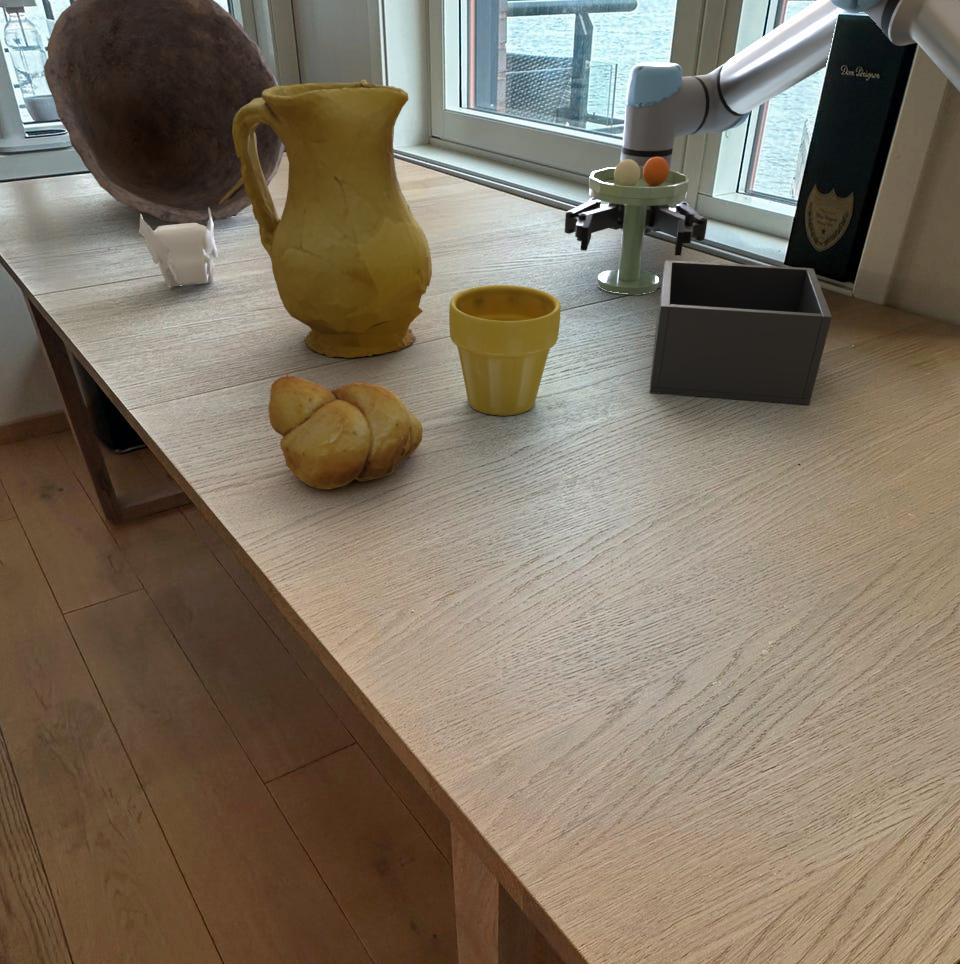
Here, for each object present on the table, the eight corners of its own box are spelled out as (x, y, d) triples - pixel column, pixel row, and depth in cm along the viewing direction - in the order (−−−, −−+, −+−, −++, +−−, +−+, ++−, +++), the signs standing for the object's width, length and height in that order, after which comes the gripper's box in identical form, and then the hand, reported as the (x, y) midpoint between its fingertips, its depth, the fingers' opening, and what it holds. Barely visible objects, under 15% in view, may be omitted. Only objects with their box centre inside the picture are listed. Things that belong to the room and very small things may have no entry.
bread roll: (406, 432, 80) (402, 346, 74) (448, 478, 73) (446, 387, 68) (270, 459, 75) (255, 370, 70) (300, 510, 68) (286, 416, 63)
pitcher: (352, 376, 88) (322, 90, 74) (247, 342, 99) (202, 84, 84) (466, 338, 99) (459, 79, 84) (360, 310, 109) (337, 76, 94)
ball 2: (664, 186, 108) (672, 158, 106) (664, 189, 106) (672, 160, 104) (640, 181, 108) (646, 153, 107) (639, 184, 106) (646, 155, 104)
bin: (794, 348, 96) (813, 268, 91) (809, 405, 84) (832, 316, 79) (654, 338, 99) (665, 259, 93) (649, 392, 87) (661, 306, 81)
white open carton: (159, 302, 108) (142, 226, 102) (148, 276, 116) (131, 204, 111) (235, 293, 111) (222, 219, 105) (219, 268, 119) (206, 198, 114)
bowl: (107, 6, 148) (119, -92, 122) (280, 151, 164) (325, 92, 138) (4, 172, 146) (-5, 108, 119) (190, 302, 162) (218, 272, 136)
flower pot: (576, 408, 84) (584, 306, 78) (489, 434, 79) (490, 328, 73) (514, 373, 90) (517, 277, 84) (430, 396, 86) (427, 296, 80)
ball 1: (636, 189, 107) (643, 161, 105) (636, 192, 104) (643, 163, 102) (611, 184, 107) (618, 155, 105) (610, 187, 104) (616, 157, 103)
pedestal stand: (674, 275, 117) (688, 168, 109) (672, 303, 108) (688, 189, 100) (586, 270, 119) (594, 165, 111) (577, 297, 110) (586, 184, 102)
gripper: (718, 233, 124) (722, 278, 107) (557, 225, 127) (536, 267, 111) (727, 175, 119) (733, 213, 103) (560, 168, 123) (539, 204, 106)
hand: (631, 241), depth 107 cm, fingers open, 11 cm apart
